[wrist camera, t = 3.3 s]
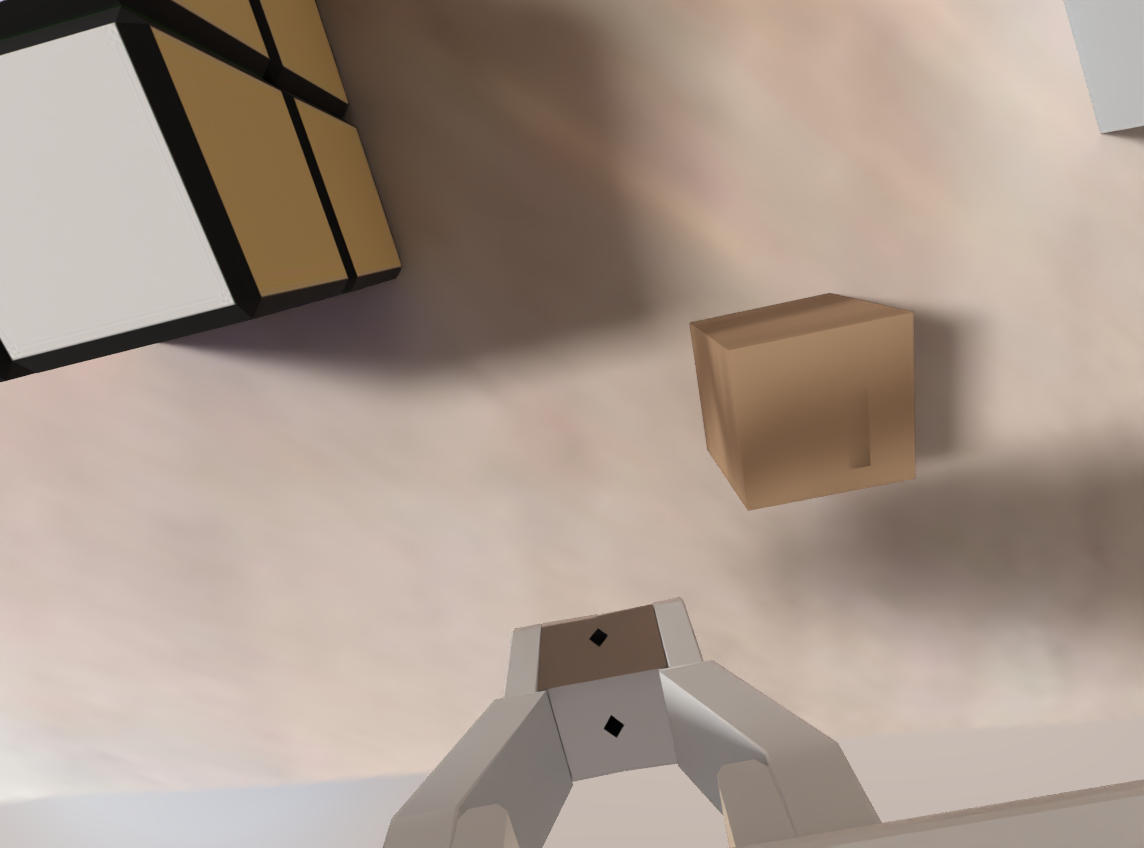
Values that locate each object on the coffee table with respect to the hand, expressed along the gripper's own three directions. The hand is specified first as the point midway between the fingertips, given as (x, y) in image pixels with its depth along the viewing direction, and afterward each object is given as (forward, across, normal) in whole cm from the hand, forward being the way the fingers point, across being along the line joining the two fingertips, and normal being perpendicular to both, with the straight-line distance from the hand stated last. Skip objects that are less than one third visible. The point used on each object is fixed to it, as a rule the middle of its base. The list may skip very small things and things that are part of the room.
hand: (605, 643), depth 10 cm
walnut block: (+12, -7, -1) cm, 14 cm away
